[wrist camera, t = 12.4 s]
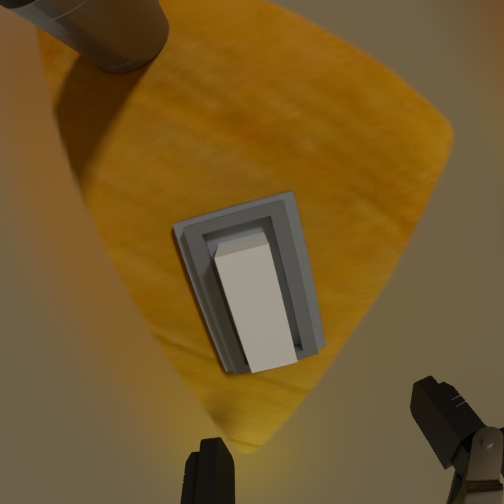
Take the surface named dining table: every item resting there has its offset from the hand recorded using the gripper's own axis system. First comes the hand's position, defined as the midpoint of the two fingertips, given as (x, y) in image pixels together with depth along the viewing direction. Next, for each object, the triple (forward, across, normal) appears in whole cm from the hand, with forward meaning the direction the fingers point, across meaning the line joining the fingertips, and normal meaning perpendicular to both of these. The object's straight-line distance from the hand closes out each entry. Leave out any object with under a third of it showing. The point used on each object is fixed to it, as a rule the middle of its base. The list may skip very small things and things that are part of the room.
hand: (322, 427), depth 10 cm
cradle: (+21, +2, +2) cm, 21 cm away
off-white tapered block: (+20, +2, +2) cm, 20 cm away
